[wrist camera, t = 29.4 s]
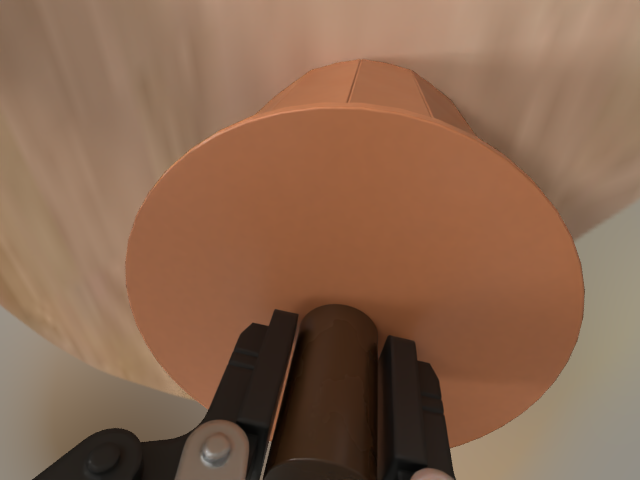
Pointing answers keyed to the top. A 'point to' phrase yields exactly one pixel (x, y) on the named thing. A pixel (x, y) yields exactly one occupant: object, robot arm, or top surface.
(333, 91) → the pot
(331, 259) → the lid
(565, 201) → the top surface
